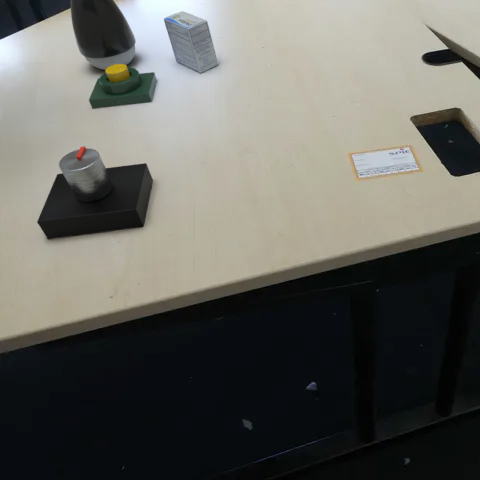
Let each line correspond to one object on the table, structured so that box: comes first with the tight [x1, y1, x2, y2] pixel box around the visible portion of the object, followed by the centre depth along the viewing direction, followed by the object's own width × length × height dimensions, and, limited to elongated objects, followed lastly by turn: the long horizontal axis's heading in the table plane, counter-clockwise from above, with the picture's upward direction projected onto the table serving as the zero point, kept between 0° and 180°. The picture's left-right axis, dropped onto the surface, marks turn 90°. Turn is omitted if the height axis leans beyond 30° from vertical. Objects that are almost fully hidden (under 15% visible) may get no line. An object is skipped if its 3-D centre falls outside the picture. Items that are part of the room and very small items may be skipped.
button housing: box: [88, 66, 158, 110], centre depth 93 cm, size 10×8×4 cm
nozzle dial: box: [58, 146, 113, 202], centre depth 68 cm, size 5×5×5 cm
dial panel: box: [36, 162, 154, 240], centre depth 71 cm, size 12×10×3 cm
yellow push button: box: [104, 64, 130, 82], centre depth 92 cm, size 4×4×2 cm
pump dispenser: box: [70, 0, 136, 71], centre depth 98 cm, size 10×10×15 cm
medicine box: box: [163, 10, 219, 74], centre depth 99 cm, size 8×4×9 cm, turn 48°
